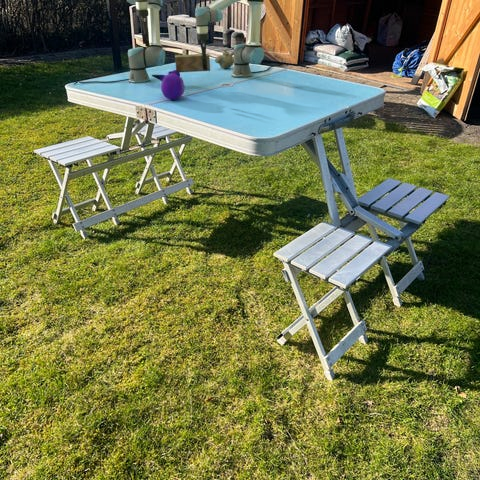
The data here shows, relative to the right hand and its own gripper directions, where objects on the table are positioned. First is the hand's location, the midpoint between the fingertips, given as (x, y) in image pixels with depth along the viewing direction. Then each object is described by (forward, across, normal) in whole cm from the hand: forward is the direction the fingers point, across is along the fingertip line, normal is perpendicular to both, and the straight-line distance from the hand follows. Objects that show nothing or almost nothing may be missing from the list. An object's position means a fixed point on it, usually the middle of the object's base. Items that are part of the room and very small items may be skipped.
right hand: (204, 68), depth 312 cm
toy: (+11, -30, +24) cm, 40 cm away
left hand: (-17, -2, +38) cm, 42 cm away
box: (+1, 0, +8) cm, 8 cm away
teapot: (+13, +69, -21) cm, 74 cm away
